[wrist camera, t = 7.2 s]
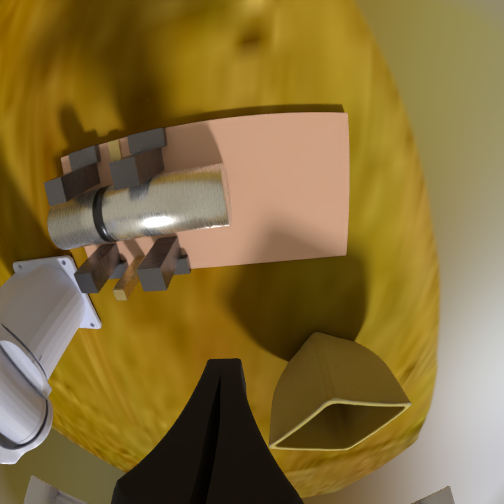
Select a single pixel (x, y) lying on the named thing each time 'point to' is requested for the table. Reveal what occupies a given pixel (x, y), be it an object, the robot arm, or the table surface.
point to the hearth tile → (259, 187)
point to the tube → (144, 209)
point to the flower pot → (333, 396)
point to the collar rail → (123, 176)
